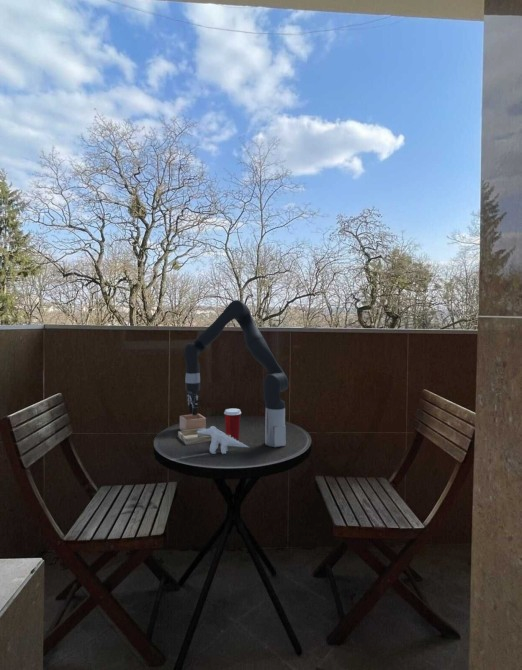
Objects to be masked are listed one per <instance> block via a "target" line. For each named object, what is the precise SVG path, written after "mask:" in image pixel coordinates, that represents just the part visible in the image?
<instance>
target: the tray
mask: <svg viewBox="0 0 522 670" xmlns="http://www.w3.org/2000/svg"><path fill="white" fill-rule="evenodd" d="M197 431H198V429H192V430H184V431H182V430H178V431H177V438H178V439H180V440H181V442H183V443H184V444H185V445H186V446H191V445H197V444H202V443H203V444H204V443H208V442H210V443H211V439H212V437H211V435H207V436H204V437H198V433H197Z"/></svg>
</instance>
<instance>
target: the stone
mask: <svg viewBox="0 0 522 670" xmlns="http://www.w3.org/2000/svg"><path fill="white" fill-rule="evenodd" d="M205 429H207V427H206V428H199V429H198V431H202V430H205ZM204 436H207V434H201V433H198V437H204Z"/></svg>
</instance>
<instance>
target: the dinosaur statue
mask: <svg viewBox="0 0 522 670" xmlns="http://www.w3.org/2000/svg"><path fill="white" fill-rule="evenodd" d="M197 433H201V434H207V435H211V437H212V439H211V441H210V445H209V453H210V454H212V455H215V454H217V449H218V448H219V445H220V452H221V454H222V455H224V454H225V455H227V452H228V447H236V448H237V447H242V448H249V446H248V445H246V444H245V443H243V442H241V441H240V440H236V439H234V437H231V435H230V436H228V435H226V432H223V431H221V430H220V429H218V428H217V427H216V426H215V425H211V426H210V427H208V428H206V429H205V430H202V431H197Z"/></svg>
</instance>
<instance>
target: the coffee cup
mask: <svg viewBox="0 0 522 670" xmlns="http://www.w3.org/2000/svg"><path fill="white" fill-rule="evenodd" d="M223 414H224V421H225V422H224V423H225V426H224V427H225V434H226V435H228V436H230V435H231V437H234V439H236V440H237V441H240V429H241V428H240V427H241V416H242V415H241V414H242V411H241V409H239V408H226V409H225V410H224V412H223Z"/></svg>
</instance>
